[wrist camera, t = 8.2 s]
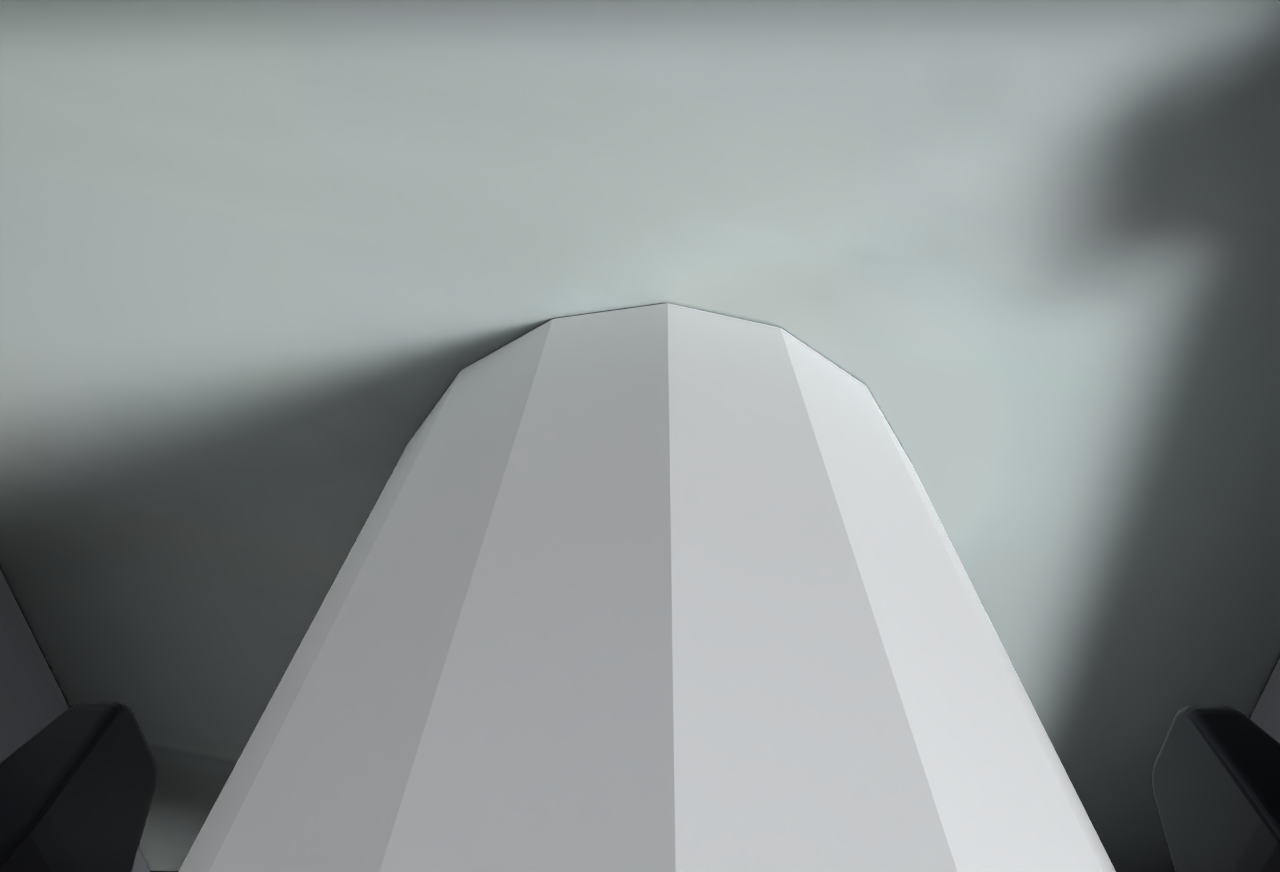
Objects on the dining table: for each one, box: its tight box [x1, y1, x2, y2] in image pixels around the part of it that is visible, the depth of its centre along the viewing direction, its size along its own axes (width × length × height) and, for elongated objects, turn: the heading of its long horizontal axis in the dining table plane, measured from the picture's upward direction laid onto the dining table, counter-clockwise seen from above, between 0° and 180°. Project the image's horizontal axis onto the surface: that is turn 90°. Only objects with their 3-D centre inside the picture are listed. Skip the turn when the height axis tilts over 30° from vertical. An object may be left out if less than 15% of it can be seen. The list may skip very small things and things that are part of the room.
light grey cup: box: [178, 303, 1116, 872], centre depth 8 cm, size 7×7×7 cm
